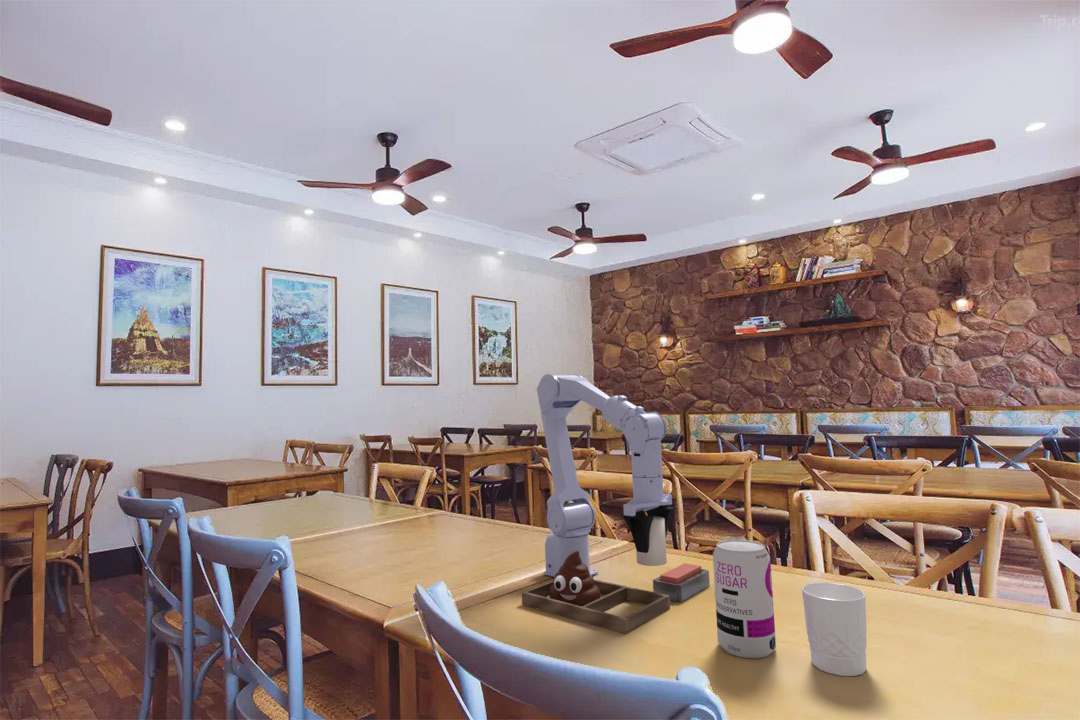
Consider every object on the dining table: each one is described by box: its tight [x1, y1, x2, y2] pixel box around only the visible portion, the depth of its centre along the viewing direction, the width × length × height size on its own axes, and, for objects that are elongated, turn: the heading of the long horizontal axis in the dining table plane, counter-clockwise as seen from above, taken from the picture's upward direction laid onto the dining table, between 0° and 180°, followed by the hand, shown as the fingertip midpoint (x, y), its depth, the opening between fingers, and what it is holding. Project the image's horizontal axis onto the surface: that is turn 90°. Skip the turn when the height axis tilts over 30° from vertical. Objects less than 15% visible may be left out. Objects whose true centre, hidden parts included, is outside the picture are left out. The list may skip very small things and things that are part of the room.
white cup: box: [801, 582, 867, 677], centre depth 79 cm, size 8×8×10 cm
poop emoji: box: [548, 551, 602, 606], centre depth 109 cm, size 10×8×9 cm
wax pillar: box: [635, 516, 668, 567], centre depth 108 cm, size 6×6×8 cm
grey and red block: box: [652, 568, 711, 603], centre depth 112 cm, size 6×12×3 cm, turn 138°
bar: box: [659, 563, 702, 584], centre depth 112 cm, size 4×10×3 cm, turn 138°
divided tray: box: [521, 578, 671, 635], centre depth 105 cm, size 23×14×2 cm, turn 48°
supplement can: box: [712, 540, 777, 659], centre depth 85 cm, size 8×8×15 cm
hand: (650, 548), depth 108 cm, fingers closed on wax pillar, 6 cm apart
